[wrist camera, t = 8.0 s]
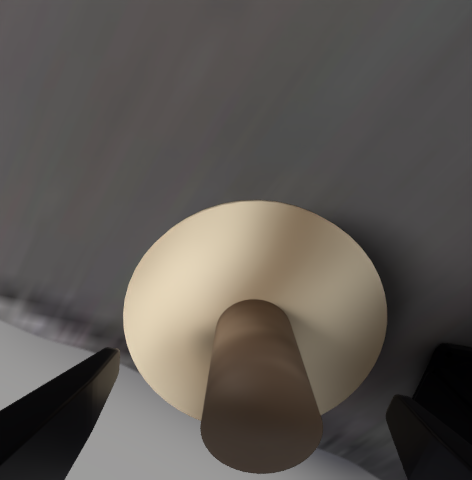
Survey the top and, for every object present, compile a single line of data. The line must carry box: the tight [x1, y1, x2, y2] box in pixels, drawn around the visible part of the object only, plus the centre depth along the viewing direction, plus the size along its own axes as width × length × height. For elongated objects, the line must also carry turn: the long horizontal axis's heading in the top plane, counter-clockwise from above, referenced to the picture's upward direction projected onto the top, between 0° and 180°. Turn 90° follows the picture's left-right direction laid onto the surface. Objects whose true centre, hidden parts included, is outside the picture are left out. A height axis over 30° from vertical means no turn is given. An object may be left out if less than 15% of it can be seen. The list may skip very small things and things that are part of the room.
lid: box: [123, 200, 387, 474], centre depth 9 cm, size 11×11×5 cm
